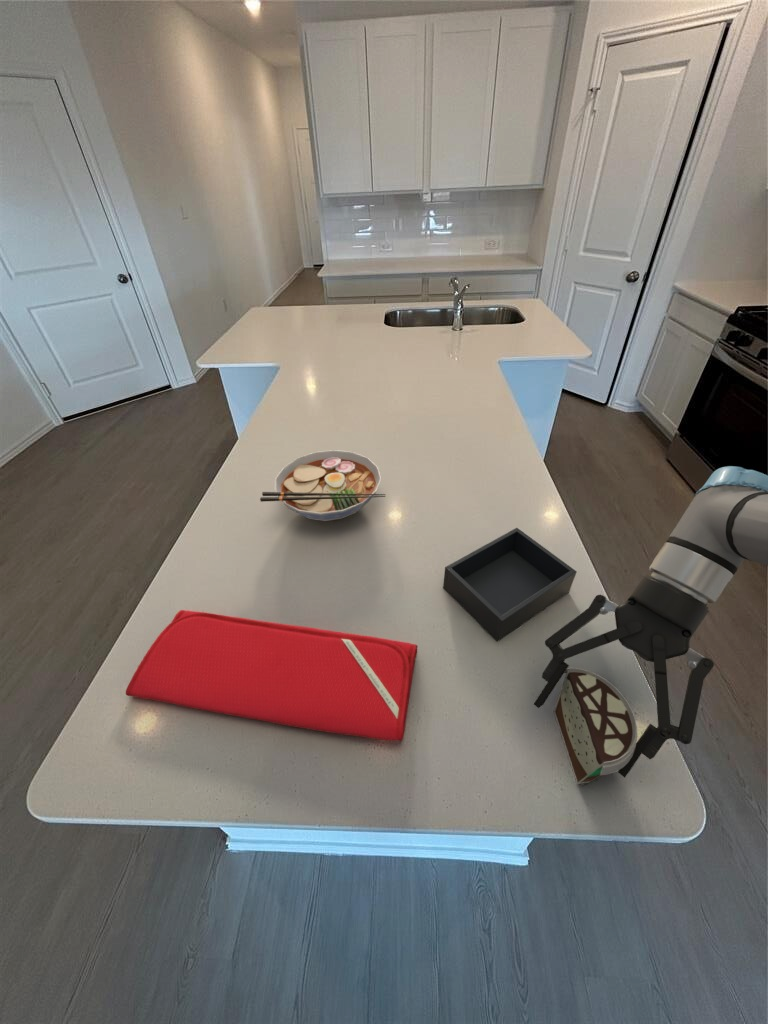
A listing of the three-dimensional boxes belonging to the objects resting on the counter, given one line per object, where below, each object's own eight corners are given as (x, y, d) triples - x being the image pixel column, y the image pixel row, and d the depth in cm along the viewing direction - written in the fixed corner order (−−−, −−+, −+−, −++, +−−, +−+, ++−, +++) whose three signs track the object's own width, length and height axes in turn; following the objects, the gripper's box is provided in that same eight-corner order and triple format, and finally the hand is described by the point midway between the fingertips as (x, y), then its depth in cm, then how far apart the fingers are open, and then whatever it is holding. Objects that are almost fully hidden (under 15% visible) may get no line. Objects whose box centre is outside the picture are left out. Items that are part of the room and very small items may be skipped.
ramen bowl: (388, 475, 107) (387, 446, 101) (385, 540, 89) (384, 510, 84) (286, 475, 108) (280, 446, 102) (264, 540, 90) (255, 510, 85)
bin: (568, 592, 78) (577, 571, 74) (496, 641, 71) (502, 621, 67) (512, 548, 87) (516, 527, 83) (442, 588, 79) (444, 566, 76)
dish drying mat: (184, 613, 77) (177, 599, 74) (417, 648, 70) (418, 635, 68) (128, 699, 65) (117, 687, 62) (402, 752, 58) (402, 740, 56)
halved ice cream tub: (631, 797, 54) (663, 766, 47) (581, 799, 54) (606, 768, 47) (592, 699, 63) (614, 662, 57) (550, 701, 63) (567, 663, 57)
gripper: (784, 648, 50) (674, 802, 52) (590, 544, 62) (508, 672, 65) (802, 652, 43) (675, 827, 46) (582, 536, 56) (492, 677, 59)
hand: (577, 736), depth 55 cm, fingers closed on halved ice cream tub, 11 cm apart
